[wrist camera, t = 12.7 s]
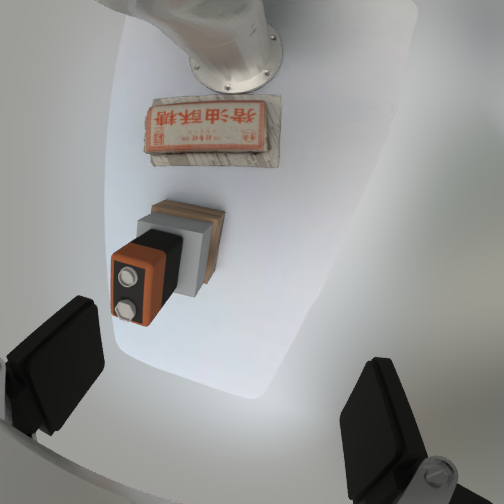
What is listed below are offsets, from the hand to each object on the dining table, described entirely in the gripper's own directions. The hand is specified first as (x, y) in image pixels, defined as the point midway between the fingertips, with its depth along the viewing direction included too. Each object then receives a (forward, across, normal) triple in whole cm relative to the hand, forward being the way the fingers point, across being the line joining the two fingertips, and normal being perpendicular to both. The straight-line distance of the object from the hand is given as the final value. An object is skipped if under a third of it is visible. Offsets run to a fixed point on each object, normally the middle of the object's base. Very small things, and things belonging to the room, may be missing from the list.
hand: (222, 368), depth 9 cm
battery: (+24, +11, +7) cm, 27 cm away
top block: (+28, +11, +7) cm, 31 cm away
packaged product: (+34, +9, -8) cm, 36 cm away
